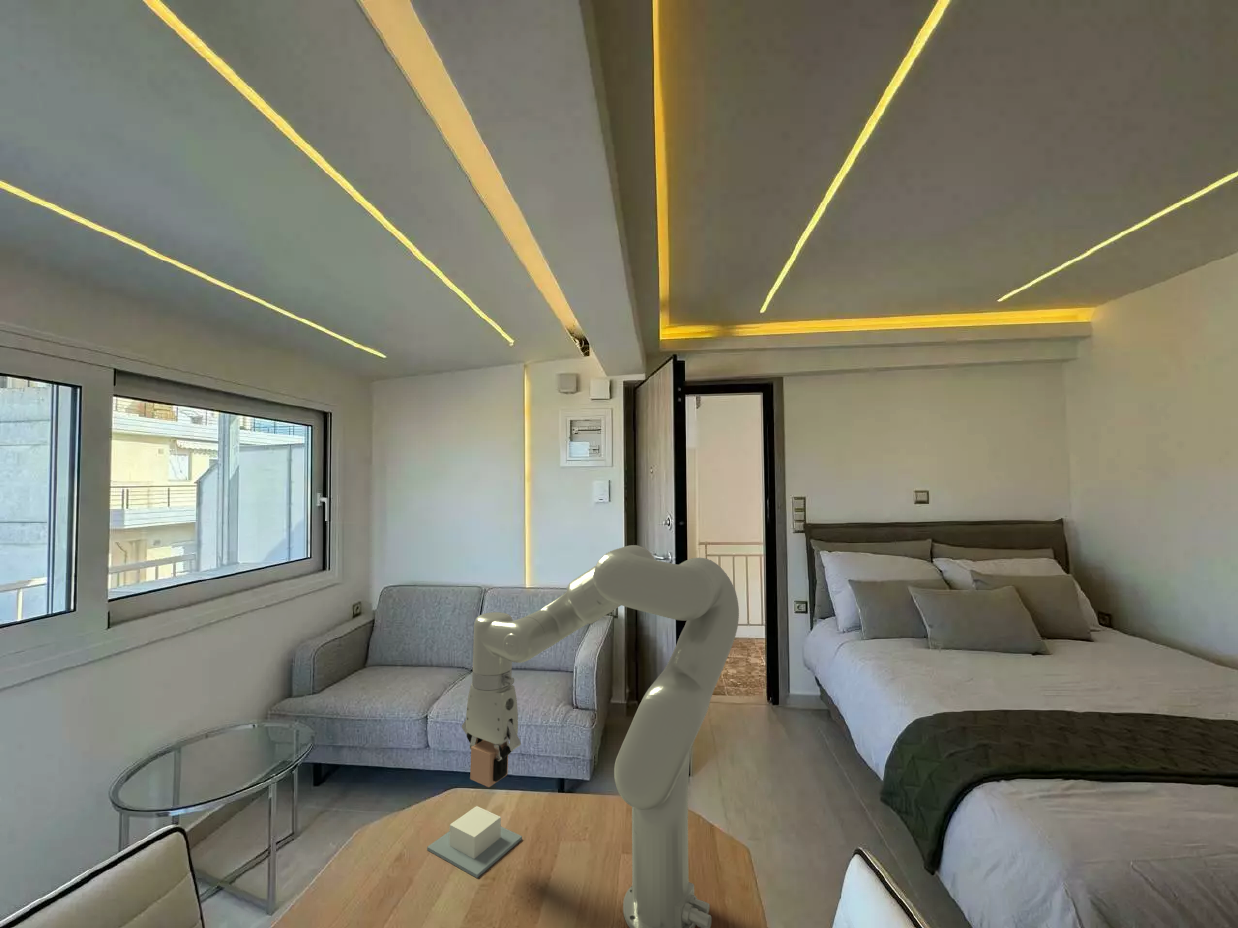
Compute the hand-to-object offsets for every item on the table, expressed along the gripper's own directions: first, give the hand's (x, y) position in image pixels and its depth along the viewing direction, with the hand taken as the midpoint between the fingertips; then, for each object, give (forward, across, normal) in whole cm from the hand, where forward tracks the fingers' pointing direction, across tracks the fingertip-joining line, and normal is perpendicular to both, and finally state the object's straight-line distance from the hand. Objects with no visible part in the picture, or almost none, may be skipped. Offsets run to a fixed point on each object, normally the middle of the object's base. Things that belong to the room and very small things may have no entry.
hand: (489, 772), depth 97 cm
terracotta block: (+1, 0, 0) cm, 1 cm away
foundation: (+16, +5, -2) cm, 17 cm away
